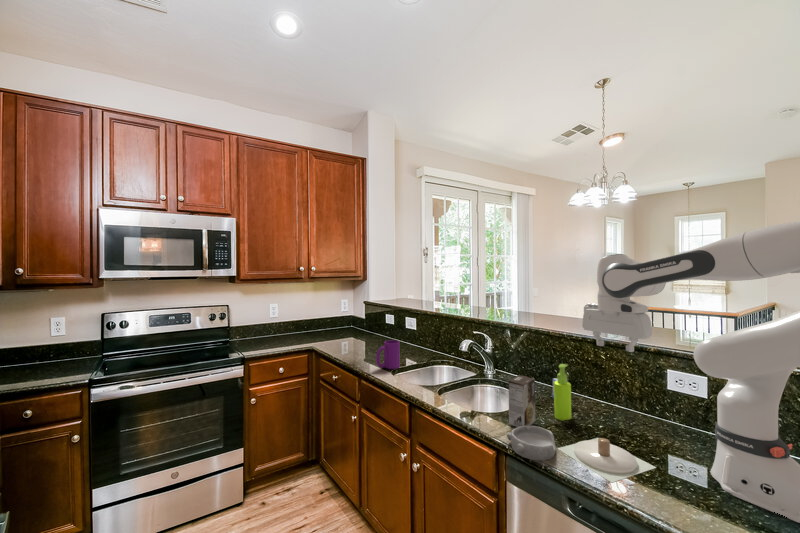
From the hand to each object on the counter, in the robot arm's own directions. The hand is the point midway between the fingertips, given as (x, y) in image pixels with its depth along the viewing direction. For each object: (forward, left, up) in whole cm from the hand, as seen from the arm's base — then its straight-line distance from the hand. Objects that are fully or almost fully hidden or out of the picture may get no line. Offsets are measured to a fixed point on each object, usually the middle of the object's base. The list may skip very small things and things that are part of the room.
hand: (614, 348), depth 106 cm
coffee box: (+25, +16, -32) cm, 43 cm away
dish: (+9, +26, -32) cm, 42 cm away
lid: (-3, +10, -31) cm, 33 cm away
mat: (-3, +10, -31) cm, 33 cm away
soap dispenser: (+23, -2, -32) cm, 39 cm away
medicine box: (+35, -14, -32) cm, 49 cm away
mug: (+109, +40, -32) cm, 120 cm away
